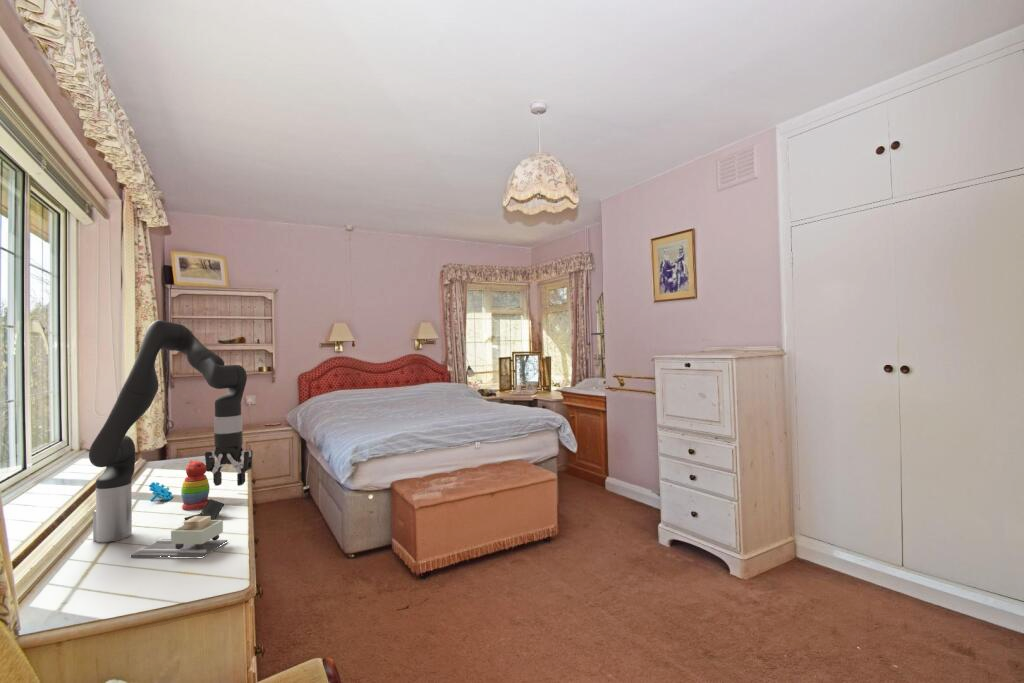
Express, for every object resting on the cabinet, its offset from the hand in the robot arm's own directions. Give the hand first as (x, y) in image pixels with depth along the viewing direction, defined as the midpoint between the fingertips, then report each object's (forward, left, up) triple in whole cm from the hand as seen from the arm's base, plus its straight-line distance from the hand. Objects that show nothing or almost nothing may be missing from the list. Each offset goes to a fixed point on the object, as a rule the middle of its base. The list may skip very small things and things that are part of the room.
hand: (229, 484), depth 152 cm
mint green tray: (-11, 0, -18) cm, 21 cm away
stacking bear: (-41, +41, -20) cm, 62 cm away
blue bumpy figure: (-62, +49, -20) cm, 82 cm away
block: (-11, 0, -16) cm, 19 cm away
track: (-16, 0, -20) cm, 26 cm away
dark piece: (-28, +27, -21) cm, 44 cm away
